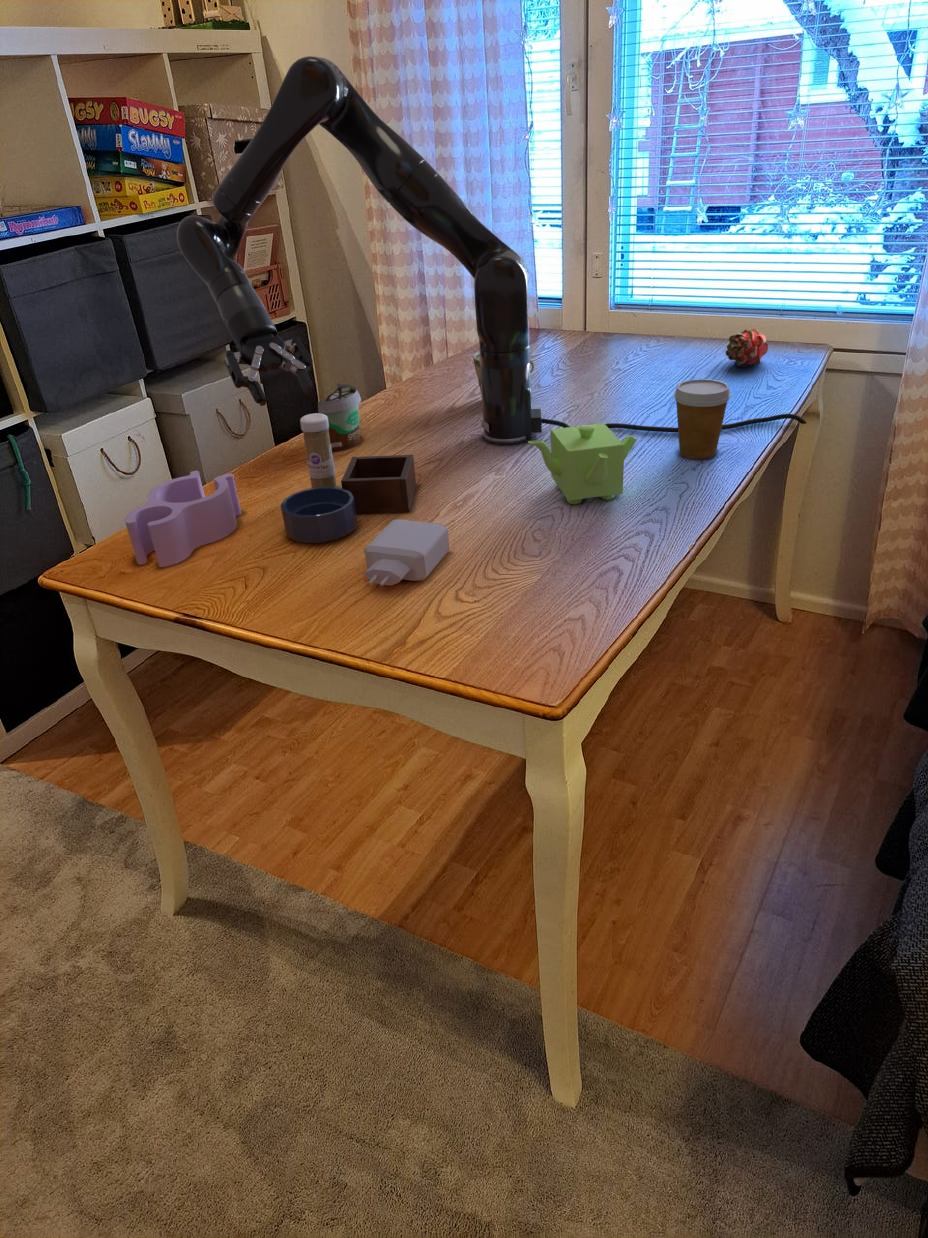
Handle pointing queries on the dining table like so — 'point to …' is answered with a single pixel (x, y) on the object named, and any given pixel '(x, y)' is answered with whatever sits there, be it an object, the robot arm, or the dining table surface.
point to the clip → (182, 518)
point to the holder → (381, 483)
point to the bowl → (319, 514)
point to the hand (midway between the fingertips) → (287, 397)
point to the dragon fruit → (747, 347)
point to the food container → (342, 416)
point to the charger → (405, 551)
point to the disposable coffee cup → (700, 416)
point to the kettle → (586, 461)
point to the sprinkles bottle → (318, 450)
